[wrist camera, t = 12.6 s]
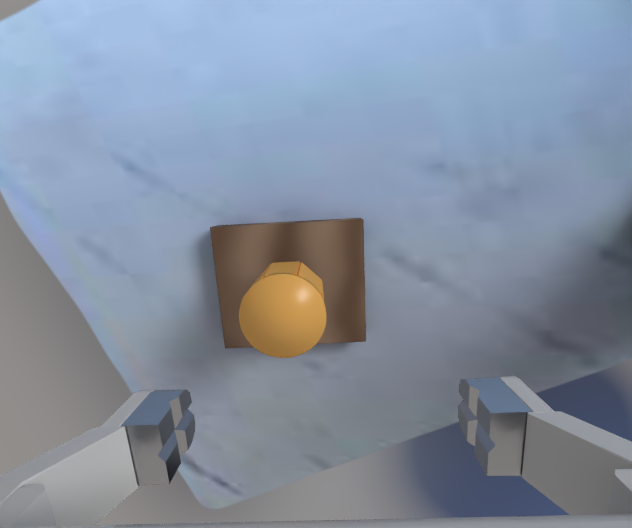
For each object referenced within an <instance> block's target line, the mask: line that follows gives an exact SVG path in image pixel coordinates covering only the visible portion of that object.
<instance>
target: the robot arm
mask: <svg viewBox="0 0 632 528" xmlns="http://www.w3.org/2000/svg"><path fill="white" fill-rule="evenodd" d="M459 393H460V395H461V396H462V398H463V401H462V402H461V403H460V404H459V406H458V418H459V423H460V427H461V430H462V432H463V435H464V437H465V438H466V440H467V442H469V443H470V444H472V445H474V446H475V456H476V457H477V459H478V461H479V463H480V464H481V466H482V468H483V469H484V471H485V472H486V474H487V476H522V478H523V479H524V480H526V481H527V482H528V483H530V484H531V485H532V486H533V487H535V488H536V489H537V490H539V491H540V492H541V493H543V494H544V495H545V496H546V497H548V498H549V499H550V500H552V501H553V502H554V503H555V504H557V505H558V506H559V507H561V508H562V509H563V510H565V511H566V512H567V513H568V514H570V515H563V516H521V517H520V516H517V517H472V518H471V517H470V518H424V519H423V518H422V519H377V520H376V519H375V520H324V521H271V522H231V523H230V522H227V523H226V522H225V523H180V524H134V525H96V524H97V523H98V522H99V521H100V520H101V519H102V518H104V517H105V516H106V515H107V514H108V513H109V512H111V511H112V510H113V509H114V508H115V507H116V506H117V505H119V504H120V503H121V502H122V501H123V500H124V499H125V498H127V497H128V496H129V495H130V494H131V493H132V492H133V491H135V490H136V489H137V488H138V486H142V485H160V484H170V482H171V480H172V478H173V476H174V475H175V473H176V471H177V469H178V467H179V466H180V464H181V460H180V456H181V455H182V454H183V453H185V452H186V451H187V450H188V449H189V447H190V445H191V443H192V441H193V437H194V432H195V419H194V415H193V414H192V413H191V412H190V411H189V410H188V408H189V406H190V404H191V403H192V401H191V396H190V392H189V391H188V390H144V391H137V392H135V393H134V394H133V395H132V396H131V397H130V398H129V399H128V400H127V401H126V402H125V403H124V404H123V405H122V406H121V407H120V408H119V409H118V410H117V411H116V412H115V413H114V414H113V415H112V416H111V417H110V418H109V419H108V420H107V421H106V422H105V423H104V424H103V425H102V426H101V427H95V428H93V429H91V430H89V431H87V432H85V433H83V434H81V435H79V436H77V437H76V438H73V439H71V440H69V441H68V442H66V443H64V444H62V445H60V446H58V447H56V448H54V449H52V450H50V451H48V452H46V453H44V454H42V455H40V456H38V457H36V458H34V459H32V460H30V461H29V462H27V463H25V464H23V465H21V466H19V467H17V468H15V469H13V470H11V471H9V472H7V473H5V474H3V475H1V476H0V528H632V442H630V441H628V440H626V439H624V438H621V437H619V436H617V435H614V434H612V433H609V432H607V431H605V430H602V429H600V428H598V427H596V426H593V425H591V424H588V423H586V422H584V421H582V420H579V419H577V418H575V417H572V416H570V415H568V414H565V413H563V412H561V411H560V412H554V411H553V410H552V409H551V408H550V407H549V406H548V405H547V404H546V403H545V402H543V400H542V399H541V398H539V397H538V396H537V395H536V394H535V393H534V392H533V391H532V390H531V389H530V388H529V387H528V386H527V385H525V384H524V383H523V382H522V381H521V380H520V379H519V378H518V377H515V376H505V377H494V378H478V379H461V381H460V384H459Z"/></svg>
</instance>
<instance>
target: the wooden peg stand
mask: <svg viewBox="0 0 632 528" xmlns="http://www.w3.org/2000/svg"><path fill="white" fill-rule="evenodd" d="M210 230H211V238H212V246H213V254H214V262H215V270H216V279H217V287H218V295H219V303H220V311H221V319H222V327H223V335H224V343H225V348H241V347H253V346H252V345H251V344H250V343H249V342H248V340H247V339H246V338H245V336H244V334H243V332H242V330H241V327H240V322H239V309H240V305H241V302H242V298H243V297H244V295H245V294H246V293H247V291H248V290H249V289H250V287H251V286H252V284H253V283H254V282H255V281H256V280H257V279H258V277H259V276H260V275H261V274H262V273H263V272H264V271H265V270H266V268H267V267H268V266H269V265H270V264H272V263H278V262H297V261H300V263H301V262H302V263H303V264H304V265H306V266H307V267H308V268H309V269H310V270H311V271H312V272H314V273H315V274H316V275H317V276H318V277H319V278H320V279H322V281H323V292H324V303H325V307H326V326H325V329H324V332H323V334H322V336H321V338H320V339H319V341H318V342H317V343H316V344H322V343H342V342H363V341H366V324H365V276H364V228H363V219H361V218H351V219H332V220H313V221H294V222H275V223H256V224H238V225H219V226H214V227H210Z"/></svg>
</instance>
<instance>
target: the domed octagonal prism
mask: <svg viewBox="0 0 632 528" xmlns="http://www.w3.org/2000/svg"><path fill="white" fill-rule="evenodd" d="M239 322H240V327H241V330H242V332H243V334H244V336H245V338H246V339H247V340H248V342H249V343H250V344H251V345H252V346H253V347H254V348H256V349H257V350H259V351H260V352H262V353H264V354H266V355H269V356H273V357H279V358H288V357H294V356H298V355H301V354H303V353H305V352H307V351H308V350H310V349H311V348H312V347H313V346H314V345H315V344H316V343H317V342H318V341H319V339H320V338H321V336H322V334H323V332H324V329H325V326H326V307H325V303H324V292H323V281H322V279H320V278H319V277H318V276H317V275H316V274H315V273H314V272H312V271H311V270H310V269H309V268H308V267H307V266H306V265H304V264H303V263H302V262H301V263H300V261H297V262H278V263H272V264H270V265H269V266H268V267H267V268H266V270H265V271H264V272H263V273H262V274H261V275H260V276H259V277H258V279H257V280H256V281H255V282H254V283H253V284H252V286H251V287H250V289H249V290H248V291H247V293H246V294H245V295H244V297H243V298H242V302H241V305H240V309H239Z"/></svg>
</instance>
